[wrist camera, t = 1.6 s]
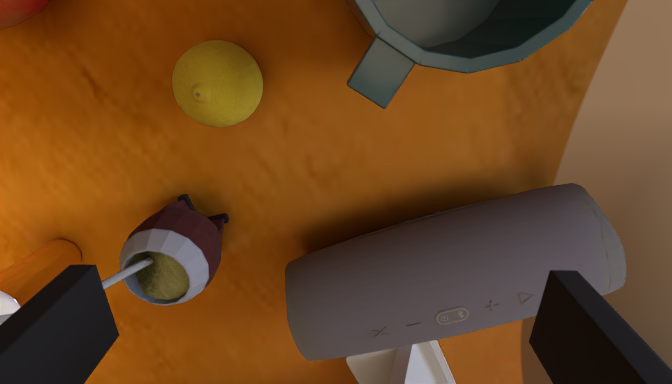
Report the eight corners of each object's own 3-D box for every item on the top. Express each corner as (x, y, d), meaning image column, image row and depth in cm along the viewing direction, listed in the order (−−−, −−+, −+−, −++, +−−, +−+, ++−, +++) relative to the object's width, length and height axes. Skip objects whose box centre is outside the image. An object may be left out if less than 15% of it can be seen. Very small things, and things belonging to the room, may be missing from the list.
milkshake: (65, 282, 37) (-27, 366, 28) (30, 240, 35) (-81, 315, 26) (103, 271, 36) (21, 353, 27) (70, 226, 34) (-31, 299, 25)
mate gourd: (246, 247, 34) (181, 391, 21) (171, 264, 36) (63, 412, 22) (215, 176, 32) (115, 290, 18) (134, 197, 33) (-18, 320, 19)
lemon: (201, 31, 27) (147, 33, 20) (276, 46, 27) (250, 53, 20) (199, 105, 29) (151, 132, 22) (268, 118, 29) (243, 148, 22)
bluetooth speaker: (325, 306, 37) (318, 396, 28) (291, 231, 34) (271, 306, 25) (556, 247, 34) (634, 328, 25) (545, 156, 30) (632, 212, 21)
